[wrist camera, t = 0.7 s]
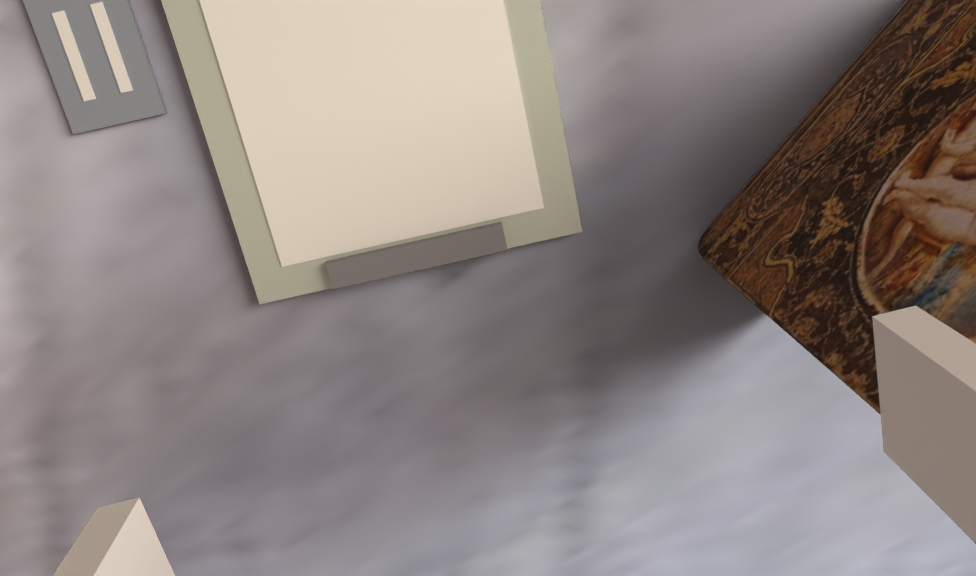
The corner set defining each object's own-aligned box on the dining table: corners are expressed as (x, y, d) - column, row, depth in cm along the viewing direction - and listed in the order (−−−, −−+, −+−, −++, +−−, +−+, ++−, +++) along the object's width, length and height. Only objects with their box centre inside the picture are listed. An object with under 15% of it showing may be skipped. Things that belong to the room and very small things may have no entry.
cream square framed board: (144, -69, 33) (132, -73, 32) (509, -152, 33) (512, -159, 32) (263, 298, 38) (257, 308, 37) (579, 227, 38) (584, 235, 37)
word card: (21, -12, 34) (17, -13, 33) (117, -34, 33) (114, -35, 33) (75, 133, 35) (72, 134, 35) (166, 112, 35) (164, 113, 35)
